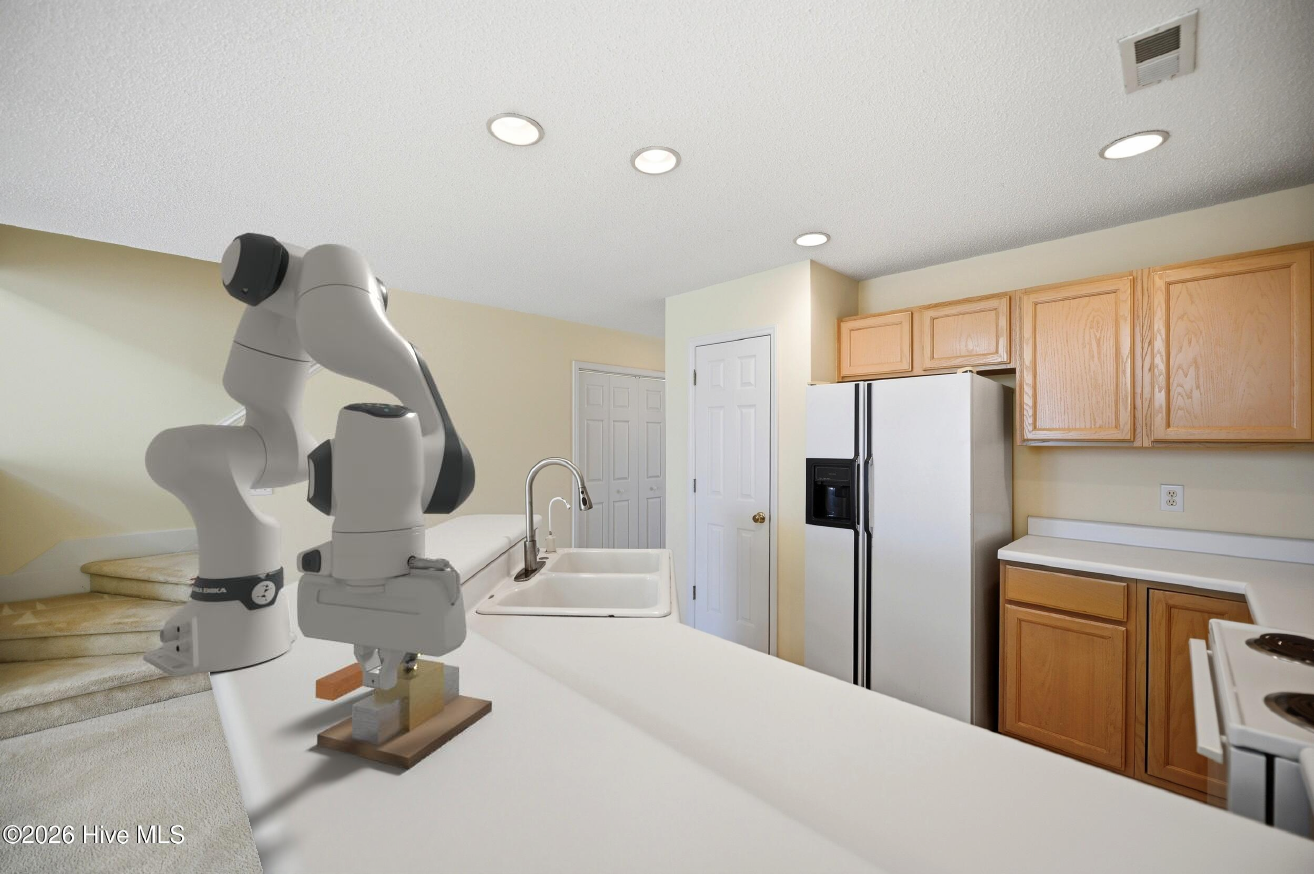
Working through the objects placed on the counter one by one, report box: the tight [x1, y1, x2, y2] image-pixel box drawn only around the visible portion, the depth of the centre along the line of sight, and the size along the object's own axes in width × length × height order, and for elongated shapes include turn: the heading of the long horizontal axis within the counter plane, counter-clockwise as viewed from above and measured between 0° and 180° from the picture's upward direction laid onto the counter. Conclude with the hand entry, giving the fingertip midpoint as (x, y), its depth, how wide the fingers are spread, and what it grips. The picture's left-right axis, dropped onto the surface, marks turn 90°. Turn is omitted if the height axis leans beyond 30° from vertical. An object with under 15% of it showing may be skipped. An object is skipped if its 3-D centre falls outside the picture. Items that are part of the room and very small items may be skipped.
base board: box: [316, 694, 493, 770], centre depth 67 cm, size 14×14×1 cm
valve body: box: [351, 658, 460, 747], centre depth 67 cm, size 6×13×7 cm, turn 159°
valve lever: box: [315, 652, 422, 702], centre depth 62 cm, size 13×3×2 cm, turn 162°
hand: (380, 686), depth 56 cm, fingers closed
